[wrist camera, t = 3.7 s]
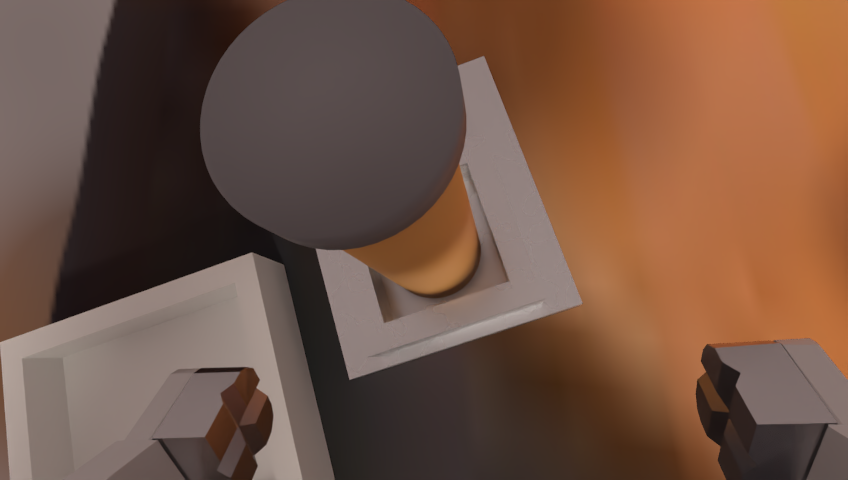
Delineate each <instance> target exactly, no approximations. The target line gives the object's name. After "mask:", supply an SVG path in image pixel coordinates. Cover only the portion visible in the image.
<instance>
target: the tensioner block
mask: <svg viewBox="0 0 848 480" xmlns="http://www.w3.org/2000/svg"><path fill="white" fill-rule="evenodd" d="M458 69H459V73H460V79H461V85H462V90H463V96H464V102H465V109H466V137H465V144H464V149H463V152H462V156H461V159H460V162H459V165H460V169H461V172H462V176H463V180H464V184H465V187H466V191H467V195H468V199H469V202H470V206H471V210H472V214H473V217H474V221H475V225H476V229H477V233H478V236H479V240H480V245H481V257H480V262H479V266H478V268H477V271H476V273H475V274H474V276H473V278H472V279H471V280H470V282H469V283H468V284H467V285H466V286H465V287H463V288H462V289H461V290H459V291H458V292H456V293H454V294H452V295H449V296H446V297H442V298H425V297H421V296H418V295H415V294H413V293H411V292H409V291H408V290H406V289H405V288H403V287H401V286H400V285H398V284H396V283H395V282H393V281H392V280H390V279H388V278H387V277H385V276H384V275H382V274H380V273H379V272H377V271H375V270H374V269H372V268H371V267H369V266H367V265H366V264H364V263H363V262H361V261H359V260H358V259H356V258H354V257H353V256H351V255H350V254H348V253H346V252H345V251H343V250H323V249H316V252H317V256H318V260H319V263H320V267H321V271H322V275H323V279H324V283H325V287H326V291H327V294H328V298H329V302H330V306H331V310H332V314H333V318H334V322H335V325H336V329H337V333H338V337H339V341H340V345H341V349H342V352H343V356H344V360H345V364H346V368H347V372H348V376H349V380H351V379H357V378H360V377H363V376H366V375H369V374H372V373H375V372H378V371H381V370H384V369H387V368H391V367H394V366H397V365H400V364H403V363H406V362H409V361H412V360H415V359H418V358H421V357H424V356H427V355H430V354H433V353H436V352H440V351H443V350H446V349H449V348H452V347H455V346H458V345H461V344H464V343H467V342H470V341H473V340H476V339H479V338H482V337H486V336H489V335H492V334H495V333H498V332H501V331H504V330H507V329H510V328H513V327H516V326H519V325H522V324H525V323H528V322H531V321H535V320H538V319H541V318H544V317H547V316H550V315H553V314H556V313H559V312H562V311H565V310H568V309H571V308H574V307H577V306H580V305H581V304H583V303H582V301H581V298H580V296H579V293H578V291H577V288H576V286H575V283H574V281H573V278H572V276H571V273H570V271H569V268H568V266H567V263H566V261H565V258H564V256H563V253H562V250H561V248H560V245H559V243H558V240H557V238H556V235H555V233H554V230H553V228H552V225H551V223H550V220H549V218H548V215H547V213H546V210H545V208H544V205H543V203H542V200H541V198H540V195H539V193H538V190H537V188H536V185H535V183H534V180H533V178H532V175H531V173H530V170H529V168H528V165H527V163H526V160H525V158H524V155H523V153H522V150H521V148H520V145H519V143H518V140H517V138H516V135H515V133H514V130H513V128H512V125H511V122H510V120H509V117H508V115H507V112H506V110H505V107H504V105H503V102H502V100H501V97H500V95H499V92H498V90H497V87H496V85H495V82H494V80H493V77H492V75H491V72H490V70H489V67H488V65H487V62H486V60H485V57H484V56H482V57H480V58H477V59H474V60H472V61H469V62H466V63H464V64H461V65H458Z"/></svg>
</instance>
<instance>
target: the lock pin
mask: <svg viewBox="0 0 848 480" xmlns="http://www.w3.org/2000/svg"><path fill="white" fill-rule="evenodd" d="M465 137H466V109H465V102H464V96H463V90H462V85H461V79H460V73H459V69H458V66H457V63H456V59H455V56H454V54H453V52H452V49H451V47H450V45H449V43H448V41H447V40H446V38H445V37H444V35H443V34H442V32H441V31H440V29H439V28H438V27H437V26H436V25H435V23H434V22H433V21H432V20H431V19H430V18H429V17H428V16H427V15H426V14H424V13H423V12H422V11H421V10H419V9H418V8H417V7H415V6H414V5H412V4H410V3H409V2H407V1H405V0H287V1H285V2H283V3H281V4H279V5H277V6H275V7H274V8H272V9H270V10H269V11H267V12H265V13H264V14H263V15H261V16H260V17H259V18H258V19H256V20H255V21H254V22H252V23H251V24H250V25H249V26H248V27H247V28H246V29H245V30H244V31H243V32H242V33H241V34H240V35H239V36H238V37H237V38H236V39H235V40H234V42H233V43H232V44H231V45H230V46H229V48H228V49H227V50H226V52H225V53H224V55H223V56H222V58H221V59H220V61H219V63H218V65H217V67H216V68H215V70H214V72H213V74H212V76H211V79H210V81H209V84H208V87H207V89H206V93H205V97H204V100H203V104H202V111H201V118H200V139H201V147H202V153H203V157H204V160H205V164H206V167H207V169H208V172H209V174H210V176H211V178H212V181H213V182H214V184H215V185H216V187H217V189H218V190H219V192H220V193H221V195H222V196H223V197H224V198H225V199H226V200H227V202H228V203H229V204H230V205H231V206H232V207H233V208H234V209H235V210H237V211H238V212H239V213H240V214H241V215H242V216H244V217H245V218H247V219H249V220H250V221H252V222H253V223H255V224H257V225H259V226H260V227H262V228H264V229H266V230H268V231H270V232H272V233H274V234H276V235H278V236H280V237H282V238H284V239H286V240H289V241H291V242H293V243H296V244H299V245H302V246H306V247H310V248H315V249H323V250H343V251H345V252H346V253H348V254H350V255H351V256H353V257H354V258H356V259H358V260H359V261H361V262H363V263H364V264H366V265H367V266H369V267H371V268H372V269H374V270H375V271H377V272H379V273H380V274H382V275H384V276H385V277H387V278H388V279H390V280H392V281H393V282H395V283H396V284H398V285H400V286H401V287H403V288H405V289H406V290H408V291H409V292H411V293H413V294H415V295H418V296H421V297H425V298H442V297H446V296H449V295H452V294H454V293H456V292H458V291H459V290H461V289H462V288H463V287H465V286H466V285H467V284H468V283H469V282H470V280H471V279H472V278H473V276H474V274H475V273H476V271H477V268H478V266H479V262H480V257H481V245H480V240H479V236H478V233H477V229H476V225H475V221H474V217H473V214H472V210H471V206H470V202H469V199H468V195H467V191H466V187H465V184H464V180H463V176H462V172H461V169H460V165H459V162H460V159H461V156H462V152H463V149H464V144H465Z"/></svg>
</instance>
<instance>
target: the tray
mask: <svg viewBox="0 0 848 480" xmlns="http://www.w3.org/2000/svg"><path fill="white" fill-rule="evenodd" d="M0 351H1V363H2V378H3V391H4V405H5V418H6V432H7V446H8V459H9V472H10V480H63V479H64V478H65V477H67V476H68V475H70V474H71V473H72V472H74V471H75V470H77V469H78V468H79V467H81V466H82V465H83V464H85V463H86V462H88V461H89V460H90V459H92V458H93V457H95V456H96V455H97V454H99V453H100V452H102V451H103V450H104V449H106V448H107V447H109V446H110V445H111V444H113V443H114V442H116V441H122V440H125V438H126V437H127V435H128V434H129V433H130V431H131V430H132V428H133V427H134V425H135V424H136V422H137V421H138V420H139V418H140V417H141V415H142V414H143V412H144V411H145V409H146V408H147V407H148V405H149V404H150V402H151V401H152V399H153V398H154V397H155V395H156V394H157V392H158V391H159V389H160V388H161V386H162V385H163V384H164V382H165V381H166V379H167V378H168V376H169V375H170V374H171V373H173V372H174V371H176V370H177V369H197V368H223V367H249V368H254V370H255V372H256V374H257V375H258V377H259V379H260V381H259V383H258V386H257V389H259V390H260V391H262V392H263V393H264V394H266V395H267V396H268V398H269V400H270V402H271V404H272V409H273V415H274V416H273V425H272V432H271V434H270V437H269V440H268V442H267V445H266V446H264V447H263V448H262V449H261V450H260V451H259V452H258V453H257V454H256V455H255V458H256V461H257V465H258V467H257V469H256V472H255V474H254V476H253V479H252V480H335V477H334V473H333V469H332V465H331V460H330V456H329V452H328V448H327V444H326V439H325V435H324V431H323V427H322V423H321V418H320V414H319V410H318V406H317V402H316V397H315V393H314V389H313V385H312V381H311V376H310V372H309V368H308V364H307V360H306V355H305V351H304V347H303V343H302V339H301V334H300V330H299V326H298V322H297V318H296V313H295V309H294V305H293V301H292V297H291V292H290V288H289V284H288V280H287V275H286V271H285V267H284V265H283V264H280V263H278V262H275V261H273V260H270V259H268V258H265V257H263V256H260V255H258V254H255V253H253V252H252V253H249V254H246V255H243V256H240V257H238V258H235V259H232V260H229V261H226V262H224V263H221V264H218V265H215V266H212V267H210V268H207V269H204V270H201V271H198V272H196V273H193V274H190V275H187V276H184V277H182V278H179V279H176V280H173V281H170V282H168V283H165V284H162V285H159V286H157V287H154V288H151V289H148V290H145V291H143V292H140V293H137V294H134V295H131V296H129V297H126V298H123V299H120V300H117V301H115V302H112V303H109V304H106V305H103V306H101V307H98V308H95V309H92V310H89V311H87V312H84V313H81V314H78V315H75V316H73V317H70V318H67V319H64V320H61V321H59V322H56V323H53V324H50V325H47V326H45V327H42V328H39V329H36V330H33V331H31V332H28V333H25V334H23V335H20V336H17V337H14V338H11V339H9V340H6V341H3V342H0Z"/></svg>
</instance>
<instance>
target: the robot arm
mask: <svg viewBox="0 0 848 480" xmlns="http://www.w3.org/2000/svg"><path fill="white" fill-rule="evenodd" d="M701 362H702V364H703V366H704V368H705V370H706V373H705V374H704V375H702V376H701V377H700V378H699V379H698V380H697V388H696V400H697V409H698V413H699V416H700V420H701V423H702V425H703V428H704V430H705V432H706V435H707V436H708V437H709V438H710V439H712V440H713V441H714V442H716V443H717V444H718V445H720V446H721V448H720V453H719V457H718V462H719V464H720V466H721V469H722V471H723V473H724V475H725V478H726V480H848V380H847V379H846V377H845V376H844V375H843V374H842V373H841V371H840V370H839V369H838V368H837V366H836V365H835V364H834V363H833V361H832V360H831V359H830V358H829V357H828V355H827V354H826V353H825V352H824V350H823V349H822V348H821V347H820V346H819V344H818V343H817V342H815V341H813V340H812V339H810V338H806V339H788V340H774V341H753V342H735V343H718V344H707V345H706V346H705V348H704V349H703V353H702V358H701ZM259 381H260V379H259V377H258V375H257V374H256V372H255V370H254V368H249V367H223V368H197V369H177V370H176V371H174V372H173V373H171V374H170V375H169V376H168V378H167V379H166V381H165V382H164V384H163V385H162V386H161V388H160V389H159V391H158V392H157V394H156V395H155V397H154V398H153V399H152V401H151V402H150V404H149V405H148V407H147V408H146V409H145V411H144V412H143V414H142V415H141V417H140V418H139V420H138V421H137V422H136V424H135V425H134V427H133V428H132V430H131V431H130V433H129V434H128V435H127V437H126V438H125V440H122V441H116V442H114V443H113V444H111V445H110V446H109V447H107V448H106V449H104V450H103V451H102V452H100V453H99V454H97V455H96V456H95V457H93V458H92V459H90V460H89V461H88V462H86V463H85V464H83V465H82V466H81V467H79V468H78V469H77V470H75V471H74V472H72V473H71V474H70V475H68V476H67V477H65V478H64V479H63V480H252V479H253V476H254V474H255V472H256V469H257V467H258V465H257V461H256V458H255V455H256V454H257V453H258V452H259V451H260V450H261V449H262V448H263V447H264V446H266V445H267V442H268V440H269V437H270V434H271V432H272V425H273V416H274V415H273V409H272V404H271V402H270V400H269V398H268V396H267V395H266V394H264V393H263V392H262V391H260V390H259V389H257V386H258V383H259Z"/></svg>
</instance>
